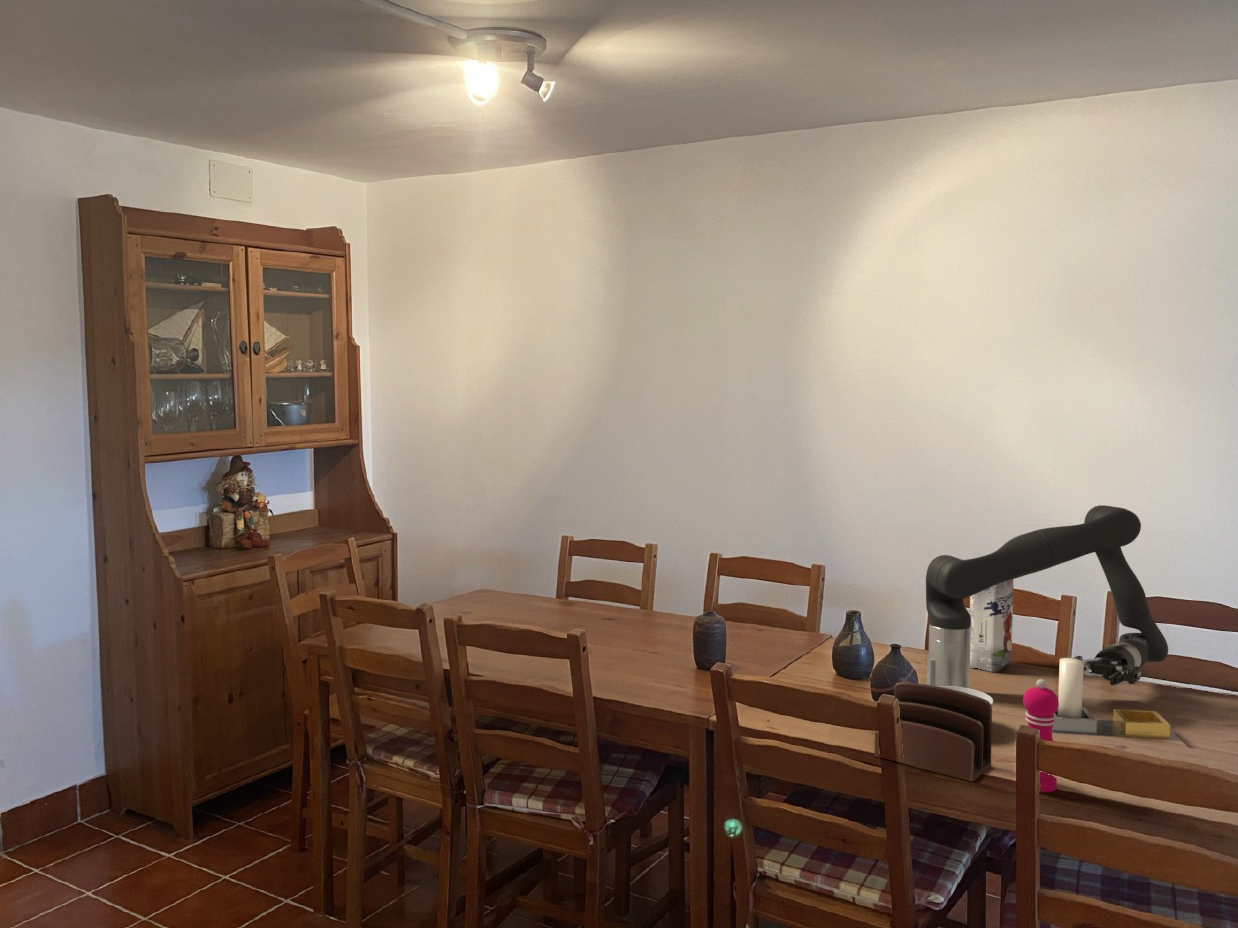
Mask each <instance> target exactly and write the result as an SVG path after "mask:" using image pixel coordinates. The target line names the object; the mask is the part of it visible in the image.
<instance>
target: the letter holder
mask: <svg viewBox="0 0 1238 928" xmlns="http://www.w3.org/2000/svg"><path fill="white" fill-rule="evenodd" d="M895 698H897V699H898V700H899V706H900V719H901V729H902V744H903V755H904V761H905V766H908V767H912V768H916V769H921V770H924V771H928V772H931V773H935V774H940V775H943V776H947V777H951V778H955V779H959V780H961V781H966V782H970V783H974V782H975V781H976V780H977V779H978V778H979V777H980V776H982V775H983V774H984V773H985V772H986V771H987V770H989V769H990V768H991V767H992V736H993V735H992V734H993V733H992V731H993V730H992V729H993V728H992V726H993V725H992V723H993V706H991V704H990V702H989V701H987V700H985V699H983V698H980V697H977V696H974V695H971V694H968V693H964V692H961V691H957V690H953V689H948V688H944V687H938V686H933V685H926V684H924V683H916V682H904V681H903V682H902V681H901V682H896V683H895V684H894V699H895ZM873 743H874V747H873V751H874V753H873V755H874V757H875V758H878V759H880V758H879V734H878V733H877V732H875V731H874V742H873Z"/></svg>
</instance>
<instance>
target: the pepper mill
mask: <svg viewBox="0 0 1238 928" xmlns="http://www.w3.org/2000/svg"><path fill="white" fill-rule="evenodd" d="M1035 685H1036V686H1032V687H1030V688H1028V689H1027V690H1026V691H1025V693H1024V695H1023V699H1022V704H1023V706H1024V708H1025V709H1026V711H1025V719H1024V720H1025V721H1026V722H1027V728H1028V727H1032V728H1036V729H1039V730H1040V738H1041V739H1043V740H1047V741H1053V742H1054V739H1053V733H1052V725H1053V724H1055V715H1054V713H1055V712H1056V711H1057V710H1058V707H1059V701H1058V695H1057V693H1055V692H1054V691H1053V690H1052V689H1050V688H1048V687H1047V686H1048V684H1047V681H1046V680H1044V679H1043V678H1042V679H1041V678H1039V679H1037V680H1036V683H1035ZM1055 777H1056V776H1055ZM1055 777H1054V776H1052V775H1048V774H1047V773H1044V772H1040V785H1041V792H1040V793H1051V792H1054V791H1056V790H1057V786H1058V785H1057V784H1058V779H1057V777H1056V778H1055Z"/></svg>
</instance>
